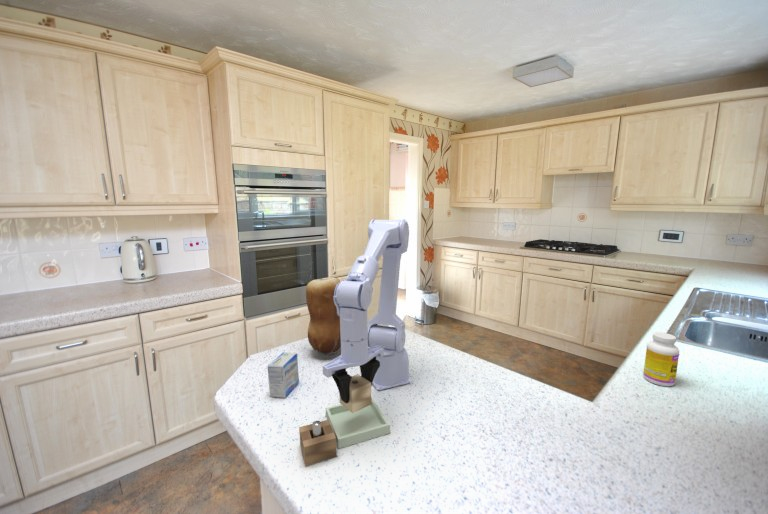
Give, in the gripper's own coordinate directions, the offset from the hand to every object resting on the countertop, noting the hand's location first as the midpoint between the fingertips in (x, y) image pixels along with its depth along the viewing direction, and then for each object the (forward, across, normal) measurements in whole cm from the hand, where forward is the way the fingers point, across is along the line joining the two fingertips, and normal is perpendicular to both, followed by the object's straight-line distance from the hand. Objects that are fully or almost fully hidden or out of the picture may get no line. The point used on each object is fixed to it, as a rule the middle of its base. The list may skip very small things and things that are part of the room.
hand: (355, 395), depth 72 cm
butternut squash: (+7, -14, -35) cm, 39 cm away
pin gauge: (+7, +10, +2) cm, 13 cm away
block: (+2, 0, 0) cm, 2 cm away
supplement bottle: (+7, -72, +39) cm, 82 cm away
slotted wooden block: (+7, +10, +2) cm, 13 cm away
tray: (+7, 0, 0) cm, 7 cm away
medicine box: (+7, +6, -24) cm, 26 cm away
